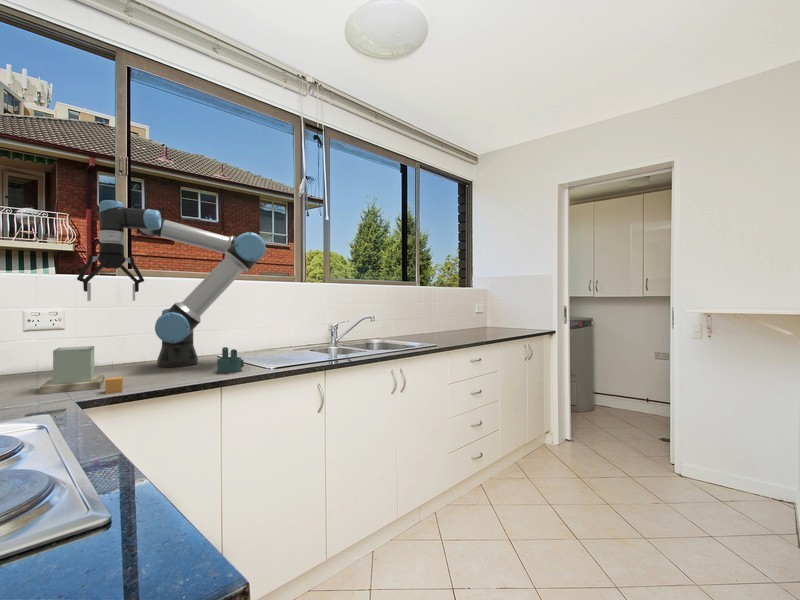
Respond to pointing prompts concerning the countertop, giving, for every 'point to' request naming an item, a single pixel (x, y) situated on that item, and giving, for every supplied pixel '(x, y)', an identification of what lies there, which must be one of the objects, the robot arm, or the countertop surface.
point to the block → (113, 385)
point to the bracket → (229, 362)
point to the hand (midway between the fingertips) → (112, 300)
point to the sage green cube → (73, 365)
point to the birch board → (72, 385)
